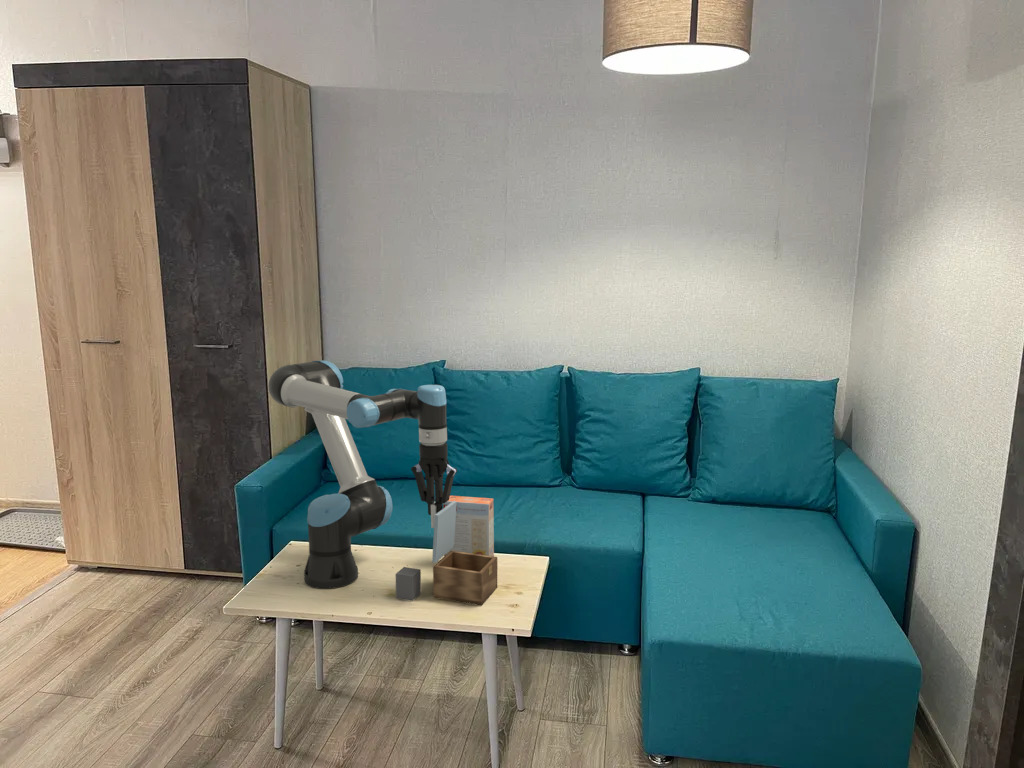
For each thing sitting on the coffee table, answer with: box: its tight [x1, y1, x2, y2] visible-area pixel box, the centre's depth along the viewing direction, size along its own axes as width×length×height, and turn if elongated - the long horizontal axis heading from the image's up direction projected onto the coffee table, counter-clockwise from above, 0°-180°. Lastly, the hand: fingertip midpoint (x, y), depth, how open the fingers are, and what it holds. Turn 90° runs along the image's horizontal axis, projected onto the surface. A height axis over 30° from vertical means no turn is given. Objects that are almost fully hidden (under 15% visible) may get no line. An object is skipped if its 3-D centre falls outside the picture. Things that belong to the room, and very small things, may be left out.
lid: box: [431, 501, 457, 564], centre depth 218 cm, size 13×12×1 cm
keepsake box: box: [432, 551, 498, 607], centre depth 219 cm, size 14×12×9 cm
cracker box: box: [442, 495, 495, 557], centre depth 235 cm, size 14×6×21 cm, turn 77°
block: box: [395, 566, 422, 602], centre depth 217 cm, size 5×5×7 cm
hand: (435, 526), depth 219 cm, fingers closed
